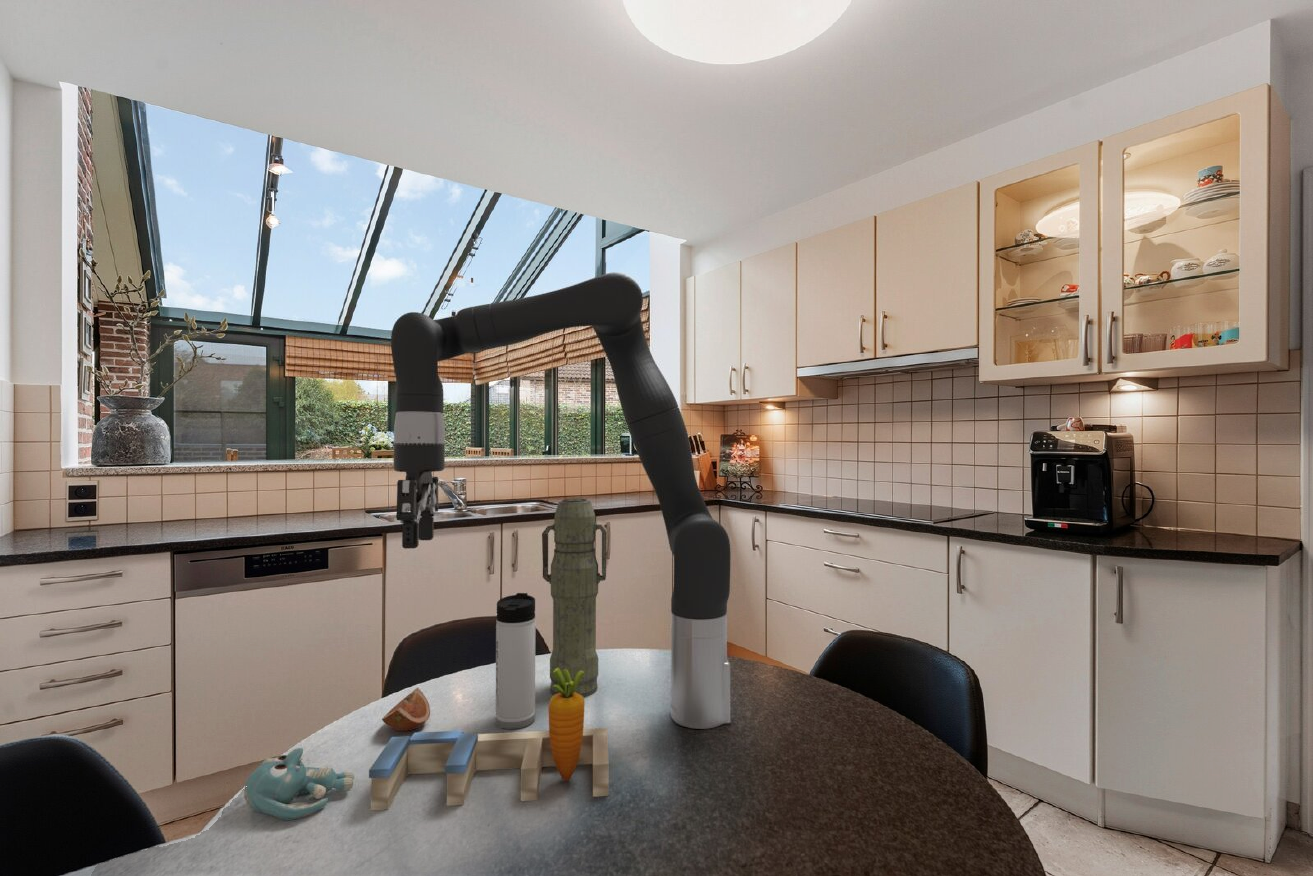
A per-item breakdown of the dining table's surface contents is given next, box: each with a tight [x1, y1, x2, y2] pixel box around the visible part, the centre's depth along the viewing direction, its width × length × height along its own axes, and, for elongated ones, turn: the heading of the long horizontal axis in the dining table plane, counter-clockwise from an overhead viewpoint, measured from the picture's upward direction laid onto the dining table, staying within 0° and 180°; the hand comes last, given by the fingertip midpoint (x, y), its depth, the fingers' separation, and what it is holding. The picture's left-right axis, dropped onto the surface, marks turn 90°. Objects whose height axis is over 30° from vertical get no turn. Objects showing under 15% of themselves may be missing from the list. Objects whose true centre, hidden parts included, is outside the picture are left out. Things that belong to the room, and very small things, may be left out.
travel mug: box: [495, 592, 536, 730], centre depth 97 cm, size 6×7×20 cm
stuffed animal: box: [243, 747, 355, 821], centre depth 75 cm, size 11×7×12 cm
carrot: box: [548, 668, 585, 783], centre depth 79 cm, size 5×5×15 cm
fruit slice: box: [381, 687, 431, 731], centre depth 94 cm, size 8×7×5 cm
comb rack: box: [368, 727, 610, 811], centre depth 79 cm, size 29×10×5 cm, turn 96°
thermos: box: [541, 498, 607, 698], centre depth 110 cm, size 9×12×35 cm
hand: (418, 543), depth 94 cm, fingers open, 8 cm apart
